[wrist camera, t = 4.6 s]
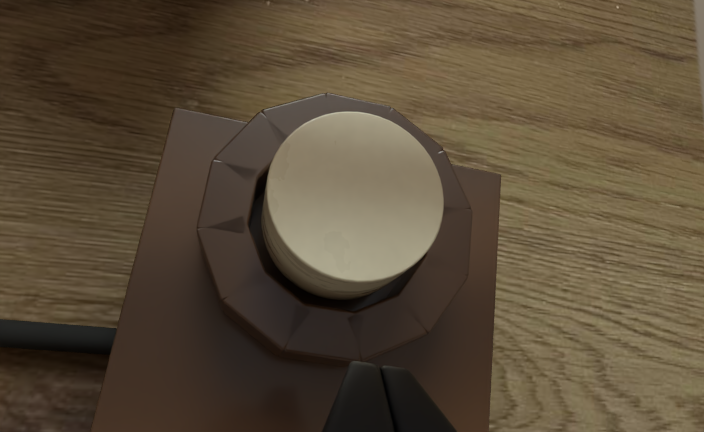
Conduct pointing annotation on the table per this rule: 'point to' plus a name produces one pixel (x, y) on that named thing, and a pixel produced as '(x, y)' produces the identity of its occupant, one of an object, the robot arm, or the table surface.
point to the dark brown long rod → (56, 337)
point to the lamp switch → (350, 205)
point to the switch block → (287, 294)
